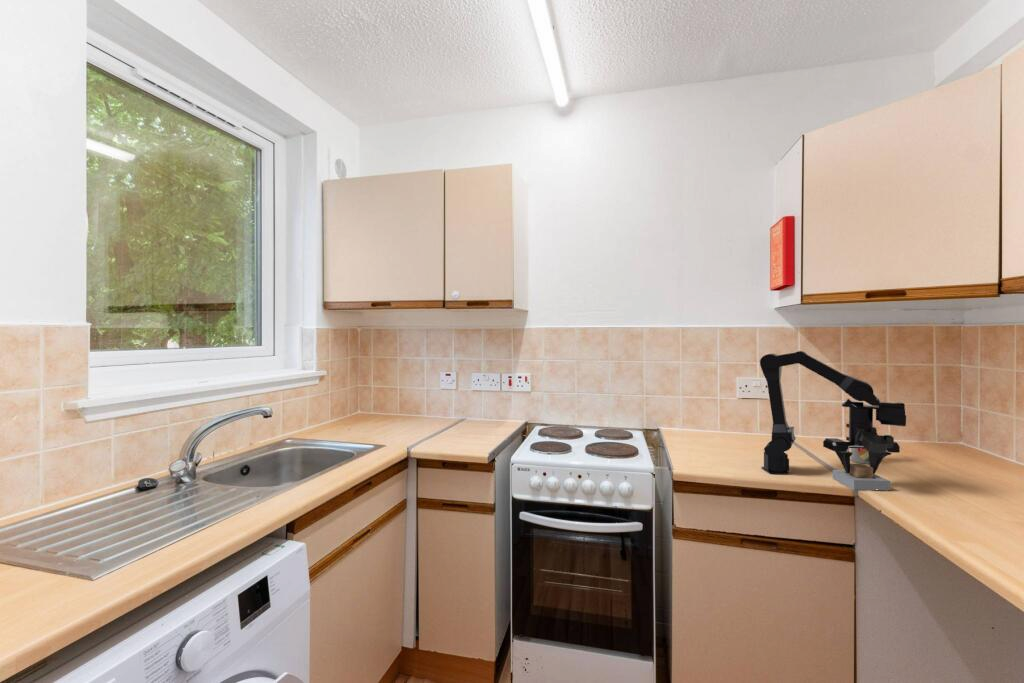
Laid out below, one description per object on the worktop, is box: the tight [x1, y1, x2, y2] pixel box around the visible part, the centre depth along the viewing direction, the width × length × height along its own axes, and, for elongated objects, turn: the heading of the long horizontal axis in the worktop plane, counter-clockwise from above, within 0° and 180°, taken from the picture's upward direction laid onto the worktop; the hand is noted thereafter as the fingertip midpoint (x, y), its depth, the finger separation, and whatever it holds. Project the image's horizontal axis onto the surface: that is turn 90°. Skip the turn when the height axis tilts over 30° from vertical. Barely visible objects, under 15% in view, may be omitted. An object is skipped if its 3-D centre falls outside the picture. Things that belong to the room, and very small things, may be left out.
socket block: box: [832, 469, 891, 492], centre depth 136 cm, size 10×10×3 cm
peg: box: [848, 463, 873, 479], centre depth 136 cm, size 4×4×6 cm
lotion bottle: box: [850, 448, 870, 465], centre depth 161 cm, size 6×6×20 cm
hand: (860, 473), depth 136 cm, fingers open, 7 cm apart
